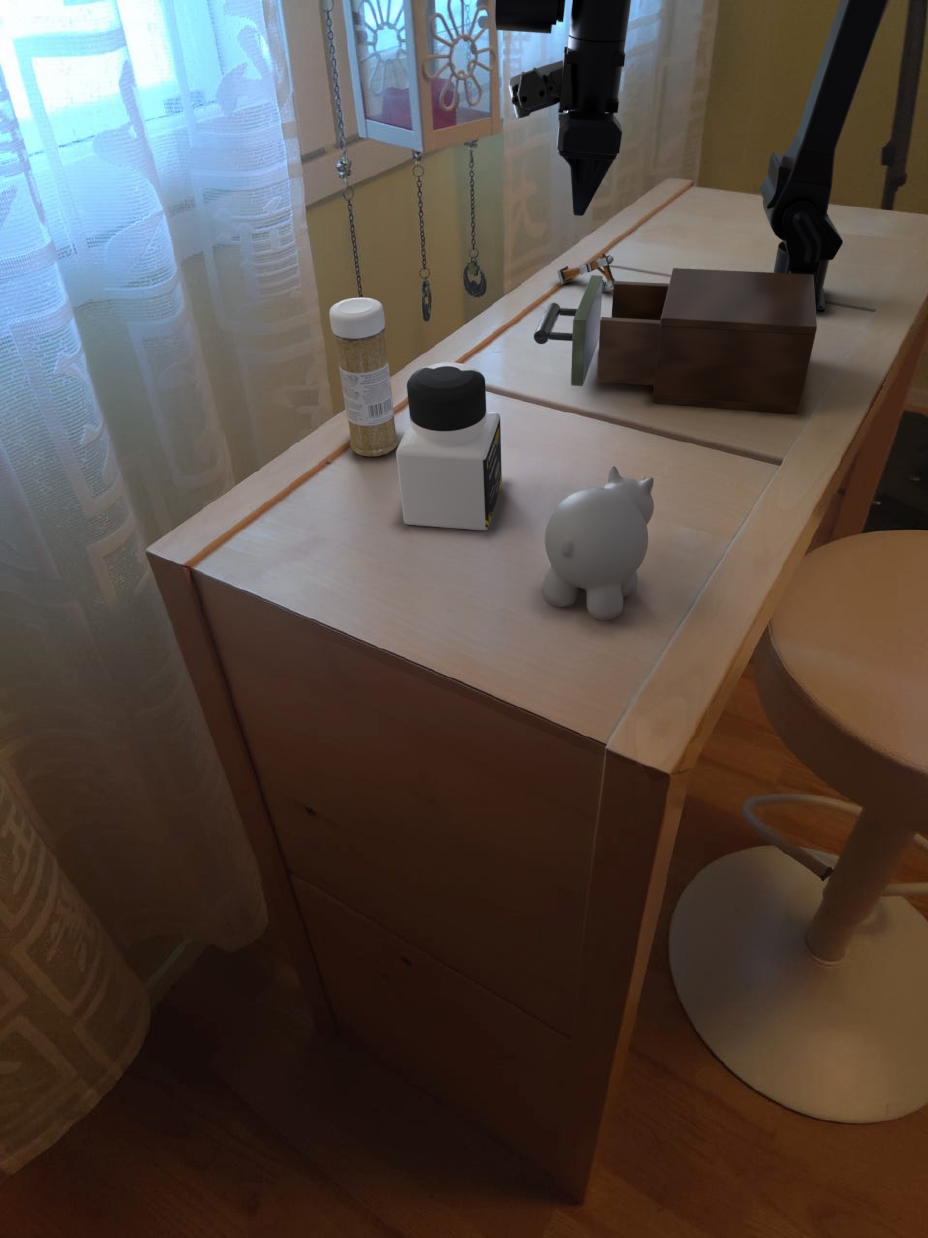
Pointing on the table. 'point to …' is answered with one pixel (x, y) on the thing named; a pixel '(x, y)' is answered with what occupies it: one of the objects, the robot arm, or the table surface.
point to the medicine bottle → (449, 450)
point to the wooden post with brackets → (603, 262)
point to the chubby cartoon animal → (598, 544)
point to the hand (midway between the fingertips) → (578, 201)
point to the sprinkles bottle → (365, 374)
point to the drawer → (612, 331)
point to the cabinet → (735, 340)
